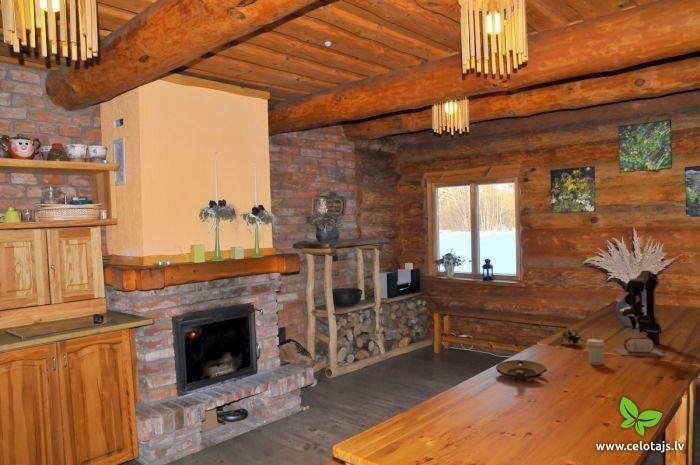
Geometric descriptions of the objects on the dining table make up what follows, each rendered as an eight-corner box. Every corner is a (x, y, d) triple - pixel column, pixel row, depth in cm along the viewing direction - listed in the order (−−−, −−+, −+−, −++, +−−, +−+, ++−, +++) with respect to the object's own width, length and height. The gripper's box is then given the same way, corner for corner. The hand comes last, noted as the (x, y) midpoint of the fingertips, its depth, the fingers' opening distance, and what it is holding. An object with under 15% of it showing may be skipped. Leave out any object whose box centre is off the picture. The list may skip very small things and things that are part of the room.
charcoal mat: (655, 350, 287) (655, 349, 287) (665, 356, 275) (665, 355, 275) (613, 350, 290) (613, 349, 290) (621, 355, 279) (621, 354, 279)
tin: (652, 351, 283) (652, 336, 283) (655, 353, 280) (655, 337, 280) (623, 351, 285) (623, 336, 285) (625, 352, 282) (625, 337, 282)
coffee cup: (607, 366, 259) (607, 342, 259) (588, 365, 261) (588, 341, 261) (602, 361, 268) (602, 338, 268) (584, 361, 269) (584, 338, 269)
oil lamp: (554, 375, 246) (554, 359, 246) (529, 391, 224) (528, 374, 224) (509, 367, 261) (509, 352, 261) (481, 382, 238) (481, 365, 238)
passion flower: (574, 353, 306) (587, 338, 303) (567, 353, 299) (580, 337, 295) (559, 340, 314) (571, 325, 310) (551, 340, 306) (564, 324, 302)
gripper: (614, 299, 296) (615, 327, 296) (627, 305, 277) (628, 334, 278) (635, 299, 294) (636, 327, 295) (649, 305, 276) (650, 334, 276)
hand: (637, 330), depth 286 cm, fingers open, 9 cm apart
